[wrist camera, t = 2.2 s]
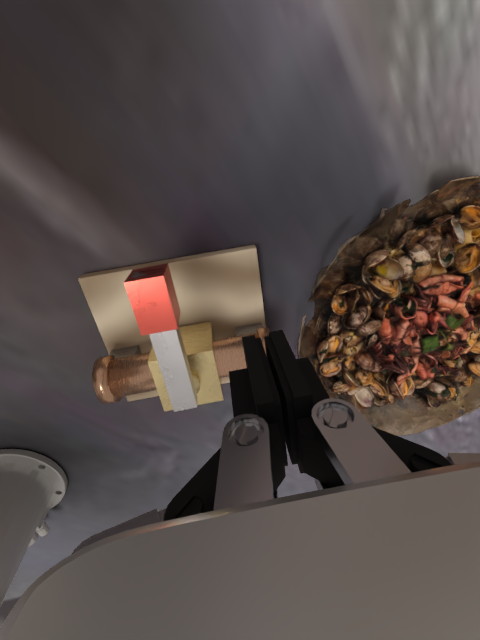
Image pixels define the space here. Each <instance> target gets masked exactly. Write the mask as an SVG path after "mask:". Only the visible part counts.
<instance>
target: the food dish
mask: <svg viewBox="0 0 480 640" xmlns="http://www.w3.org/2000/svg"><path fill="white" fill-rule="evenodd" d="M410 201H411V200H410V199H409V200H406V201H403V202H402V203H400V204H397V205H396V206H395V207H393V208H391V209H390V210H389V211H388V209H387V208H384V209H382V210H381V213H380V215H379V216H378V219H377V220H376V221H375V222H373V223H372V224H371V225H370V226H369V227H367V228H365V229H364V230H363V231H362V232H361V233H360V234H358V235H356V236H354V237H352V238H349V239H348V240H347V242H346V243H344V244H342V246H341V247H340V248H339V249H338V250H337V256H336V258H335V259H334V260H333V262H332V263H331V264H330V265H329V266H327V267H326V268H324V269H322V270H321V271H320V272H319V274H318V277H317V280H316V282H315V285H314V286H313V288H312V297H311V299H310V300H309V301H308V302H312V301H315V313H314V316H313V318H312V319H311V321H310V322H309V324H308V325H307V326H306V327H305V319H306V314H305V315H304V317H303V320H302V324H301V330H300V336H299V340H298V356H299V353H300V356H301V358H306V357H307V358H309V360H310V362H311V363H312V365H313V367H314V369H315V371H316V373H317V375H318V376H319V378H320V380H321V382H322V384H323V386H324V388H325V389H326V391H327V393H328V395H329V397H330V398H334V399H341V400H345V401H347V402H349V403H351V404H352V405H353V406H354V407H355V408H356V409H357V410H358V411H359V412H360V413H361V414H362V416H363V417H364V418H365V419H366V420H367V421H368V423H369V424H370V425H371V426H373V427H375V428H378V429H380V430H383V431H386V432H388V433H391V434H393V435H409V434H415V433H419V432H422V431H425V430H427V429H429V428H434V427H438V426H440V425H443V424H446V423H449V422H451V421H453V420H455V419H456V418H459V417H460V416H463V415H465V414H467V413H470V412H472V411H474V410H475V409H477V408H479V407H480V177H478V176H476V177H473V176H471V177H466V178H460V179H456V180H451V181H449V182H448V183H446V184H445V185H444V186H443V187H442V188H441V189H440V190H436V191H434V192H432V193H431V194H429V195H427V196H426V197H424V198H423V199H422V200H420V201H419V202H418V203H416V204H414V205H411V206H408V205H409V203H410ZM386 211H388V212H387V213H386V214H385V212H386Z"/></svg>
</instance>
